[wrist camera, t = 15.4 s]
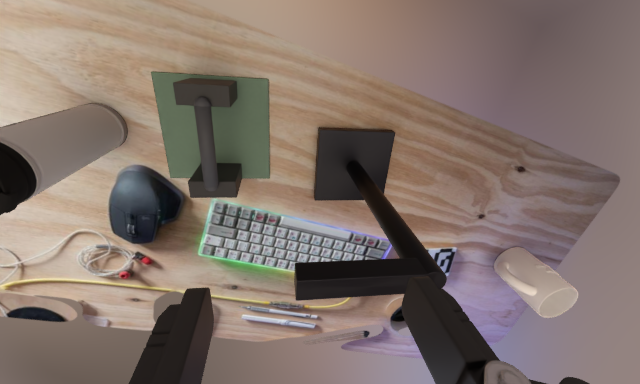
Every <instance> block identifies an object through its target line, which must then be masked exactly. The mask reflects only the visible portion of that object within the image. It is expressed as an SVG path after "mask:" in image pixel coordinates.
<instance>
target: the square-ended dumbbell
mask: <svg viewBox="0 0 640 384" xmlns="http://www.w3.org/2000/svg"><path fill="white" fill-rule="evenodd" d="M173 88H174V94H175V100H176V105H190V106H194V111H195V119H196V126H197V134H198V142H199V150H200V158H201V164H200V165H199V166H198V168H197V169H196V171H195V172H194V174H193V175H192V177H191V178H190V180H189V181H188V184H189V191H190V197H191V198H207V197H237V195H238V191H239V187H240V183H241V180H242V165H241V163H217V161H216V152H215V142H214V132H213V122H212V112H211V106H212V107H231V106H232V105H233V103H234V102H235V101H236V100H237V99H238V97H237V81H235V80H218V79H202V78H188V79H184V80H181V81H177V82H173Z"/></svg>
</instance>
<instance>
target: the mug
mask: <svg viewBox="0 0 640 384" xmlns="http://www.w3.org/2000/svg"><path fill="white" fill-rule="evenodd" d="M494 269H495V272H496V273H497V274H498V275H499V276H500V277H501V278H502V279H503V280H504V281H505V282H506V283H507V284H508V285H509V286H510V287H511V288H512V289H513V290H514V291H515V292H516V293H517V294H518V295H519V296H520V297H521V298H522V299H524V300H525V301H526V302H527V303H528V304H529V305H530V306H531V307H532V308H533V309H534V310H535V311H536V312H537V313H538V314H539V315H540V316H542V317H545V318H551V317H555V316H558V315H560V314H562V313H564V312H566V311H567V310H568V309H570V308H571V307H572V306H573V305H574V304H575V302H576V300H577V299H578V292H577V290H576V289H575V288H574V287H573V286H571V285H570V284H569V283H568V282H566V281H565V280H564V279H563V278H561V277H560V275H559V274H558V273H557V272H556V271H554V270H553V269H552V268H551V267H549V266H548V265H546V264H543V263H542V262H541V261H540V260H538V259H537V258H536V257H534V256H533V255H532V254H531V253H529V252H528V251H527V250H526V249H524V248H521V247H513V248H510V249H508V250H506V251H504V252H503V253H501V254H500V255H499V256H498V258H497V259H496V261H495V263H494Z"/></svg>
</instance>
